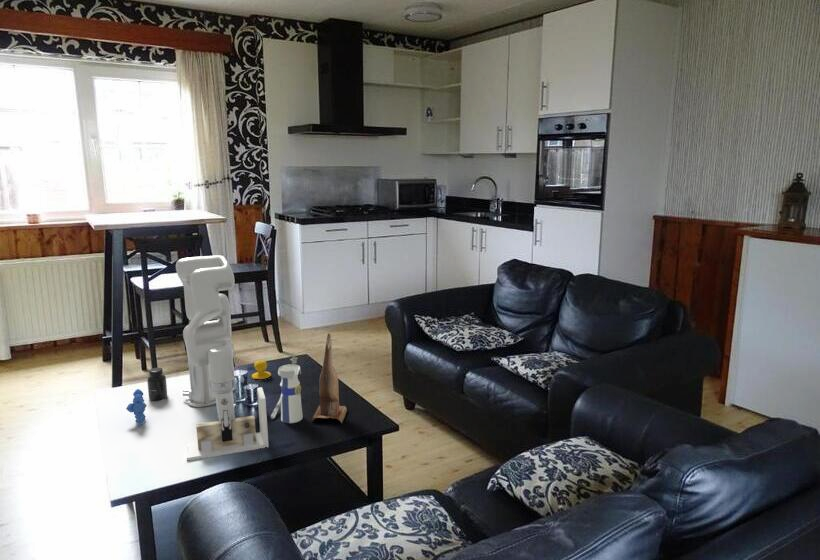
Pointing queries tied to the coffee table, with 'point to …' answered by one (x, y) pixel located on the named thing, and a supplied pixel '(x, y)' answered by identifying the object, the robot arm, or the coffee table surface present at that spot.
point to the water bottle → (290, 392)
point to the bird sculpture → (329, 388)
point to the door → (215, 435)
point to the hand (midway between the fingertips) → (227, 437)
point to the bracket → (276, 409)
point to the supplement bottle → (157, 385)
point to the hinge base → (246, 446)
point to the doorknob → (261, 370)
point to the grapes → (138, 406)
